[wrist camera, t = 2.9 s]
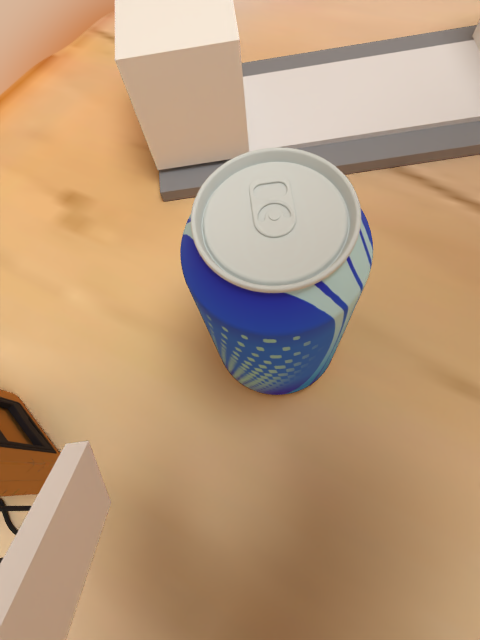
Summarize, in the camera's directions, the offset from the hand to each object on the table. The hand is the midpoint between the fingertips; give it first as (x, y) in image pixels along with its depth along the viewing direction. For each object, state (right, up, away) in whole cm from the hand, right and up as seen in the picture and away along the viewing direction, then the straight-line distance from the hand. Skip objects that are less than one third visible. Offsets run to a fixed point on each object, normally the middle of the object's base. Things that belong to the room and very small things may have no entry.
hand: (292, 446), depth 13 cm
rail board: (+10, +24, +25) cm, 35 cm away
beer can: (+1, +2, +17) cm, 18 cm away
